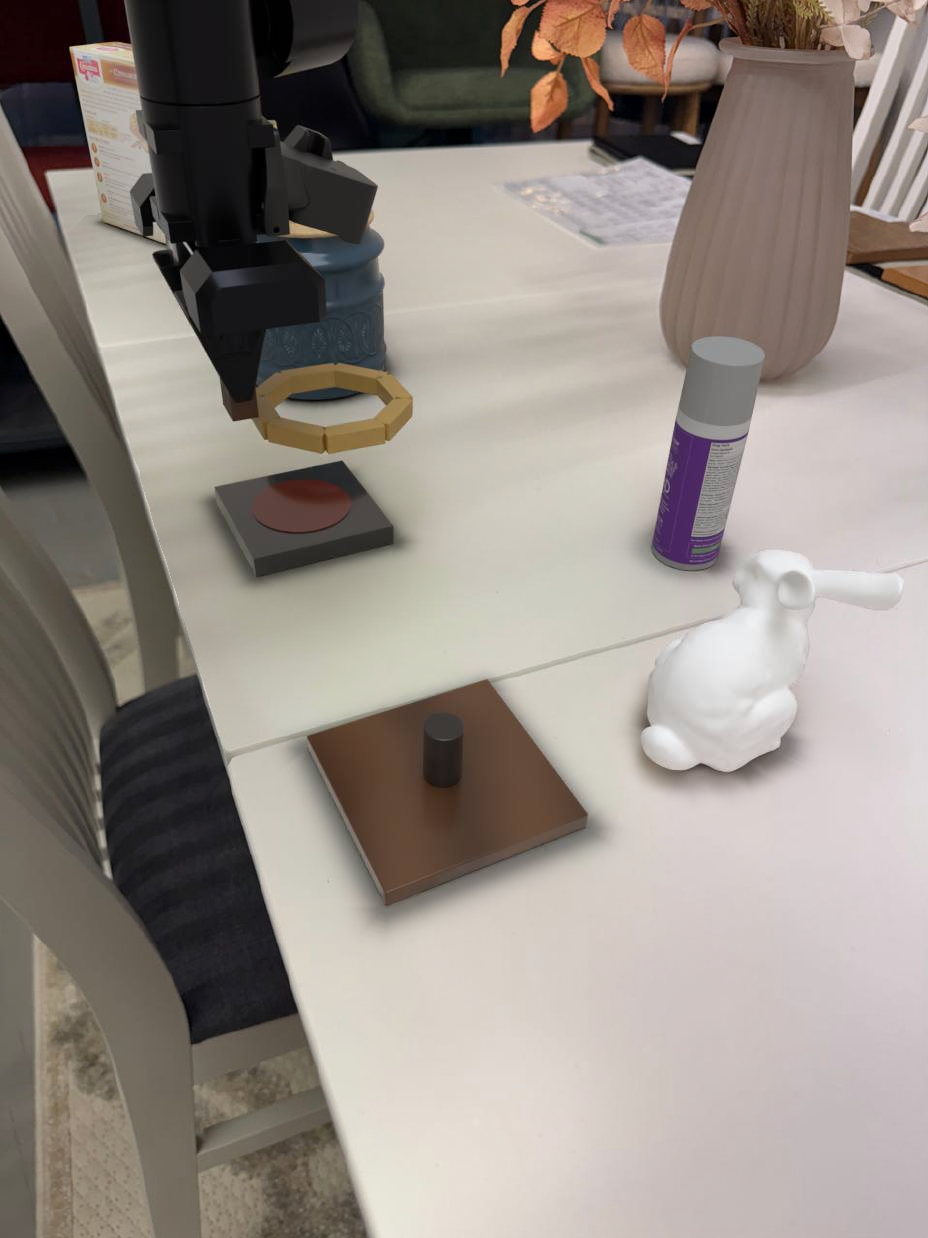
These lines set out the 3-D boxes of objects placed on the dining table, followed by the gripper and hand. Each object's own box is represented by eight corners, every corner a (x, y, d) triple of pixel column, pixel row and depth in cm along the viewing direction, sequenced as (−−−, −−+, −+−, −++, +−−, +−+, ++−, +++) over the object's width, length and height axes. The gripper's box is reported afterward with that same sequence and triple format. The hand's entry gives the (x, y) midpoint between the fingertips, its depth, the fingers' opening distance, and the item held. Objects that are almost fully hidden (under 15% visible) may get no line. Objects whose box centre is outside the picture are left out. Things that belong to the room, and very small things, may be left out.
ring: (431, 435, 58) (433, 337, 54) (250, 469, 54) (238, 366, 50) (376, 372, 65) (374, 281, 61) (211, 398, 61) (198, 302, 57)
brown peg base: (385, 906, 44) (383, 845, 41) (307, 748, 52) (301, 687, 49) (586, 827, 48) (597, 766, 45) (486, 691, 56) (490, 631, 53)
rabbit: (721, 650, 59) (766, 484, 52) (859, 732, 54) (932, 560, 46) (595, 745, 53) (626, 569, 45) (738, 848, 47) (800, 669, 40)
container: (638, 540, 68) (674, 340, 59) (693, 528, 70) (736, 331, 61) (674, 576, 65) (718, 370, 56) (731, 562, 67) (783, 360, 57)
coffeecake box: (222, 236, 118) (200, 56, 106) (175, 249, 114) (147, 63, 101) (147, 210, 125) (119, 39, 113) (101, 222, 121) (65, 45, 109)
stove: (256, 577, 63) (253, 557, 62) (216, 503, 70) (213, 485, 69) (393, 543, 67) (393, 524, 66) (343, 476, 74) (342, 458, 73)
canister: (251, 344, 93) (229, 148, 82) (384, 343, 94) (380, 149, 83) (240, 404, 83) (214, 189, 72) (389, 402, 84) (385, 191, 73)
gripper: (427, 126, 43) (424, 438, 52) (303, 56, 56) (319, 317, 65) (175, 142, 39) (223, 476, 48) (105, 63, 52) (154, 339, 62)
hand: (237, 391), depth 56 cm, fingers closed on ring, 2 cm apart
